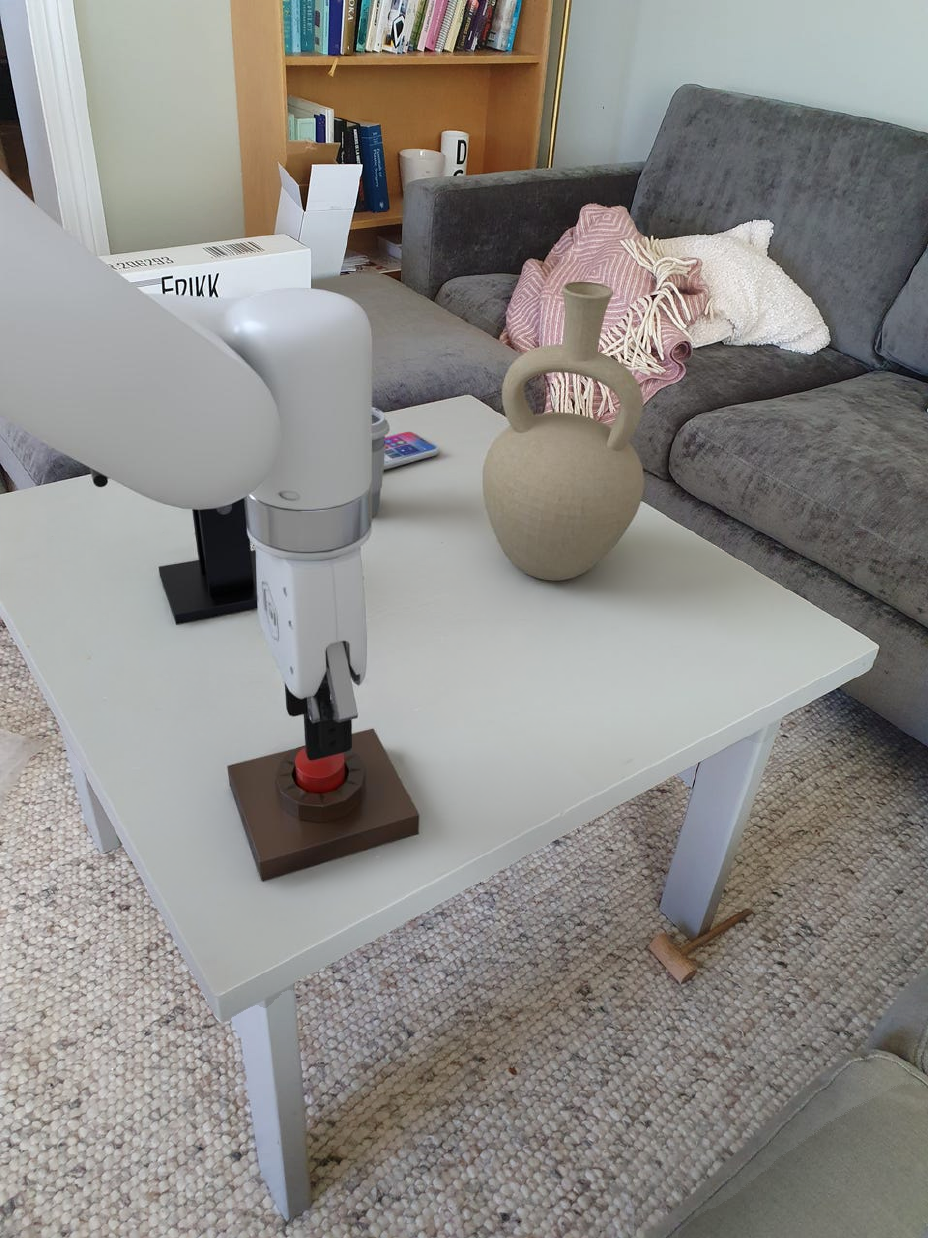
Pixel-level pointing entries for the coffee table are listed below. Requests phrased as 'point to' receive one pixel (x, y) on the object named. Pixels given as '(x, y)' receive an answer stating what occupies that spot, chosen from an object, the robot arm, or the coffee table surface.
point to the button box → (320, 808)
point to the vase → (565, 455)
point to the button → (320, 772)
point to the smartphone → (406, 449)
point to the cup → (378, 455)
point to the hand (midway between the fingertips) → (318, 729)
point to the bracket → (214, 568)
